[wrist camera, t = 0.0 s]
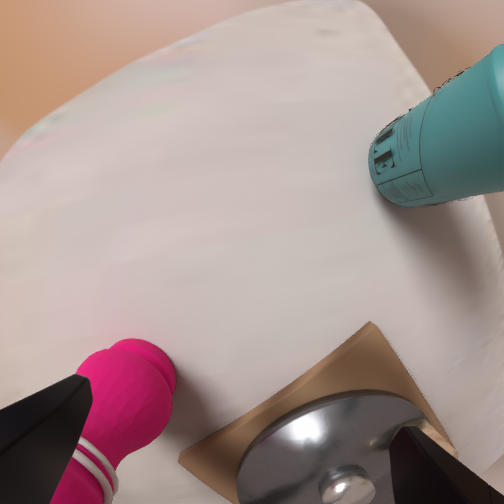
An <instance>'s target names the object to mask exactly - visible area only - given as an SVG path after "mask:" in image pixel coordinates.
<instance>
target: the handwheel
mask: <svg viewBox="0 0 504 504" xmlns="http://www.w3.org/2000/svg"><path fill="white" fill-rule="evenodd" d="M404 425H415V426H417V427H418V428H419V429H420V430H421V431H423V432H424V433H425V434H426V435H428V436H429V437H430V438H431V439H432V440H434V441H435V442H436V443H437V444H439V445H440V446H441V447H442V448H444V449H445V450H446V451H447V452H448V453H450V454H451V455H452V456H453V457H455V458H456V459H458V453H457V451H456V450H455V449H454V448H453V447H452V446H451V445H450V444H449V443H448V442H447V441H446V440H445V439H444V438H443V437H442V436H441V435H440V434H439V433H438V432H437V431H436V430H435V429H434V428H433V427H432V425H431V423H430V421H429V419H428V418H427V417H426V416H425V415H424V413H423V412H422V411H421V410H420V409H419V408H418V407H417V406H416V405H415V404H413V403H412V402H411V401H410V400H408V399H407V398H405V397H403V396H401V395H399V394H396V393H392V392H389V391H383V390H375V389H361V390H350V391H344V392H339V393H334V394H331V395H327V396H324V397H320V398H318V399H315V400H312V401H310V402H307V403H305V404H303V405H301V406H299V407H297V408H294V409H292V410H291V411H289V412H287V413H286V414H284V415H282V416H280V417H279V418H278V419H276V420H275V421H273V422H272V423H271V424H269V425H268V426H267V427H266V428H265V429H263V430H262V431H261V432H260V433H259V434H258V435H257V436H256V437H255V438H254V440H253V441H252V442H251V443H250V444H249V446H248V447H247V449H246V450H245V452H244V453H243V456H242V458H241V460H240V462H239V466H238V471H237V496H238V500H239V503H240V504H395V501H394V496H393V489H392V479H391V466H390V456H389V445H390V442H391V441H392V439H393V438H394V436H395V435H396V434H397V432H398V431H399V429H400V428H401V427H402V426H404Z"/></svg>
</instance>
